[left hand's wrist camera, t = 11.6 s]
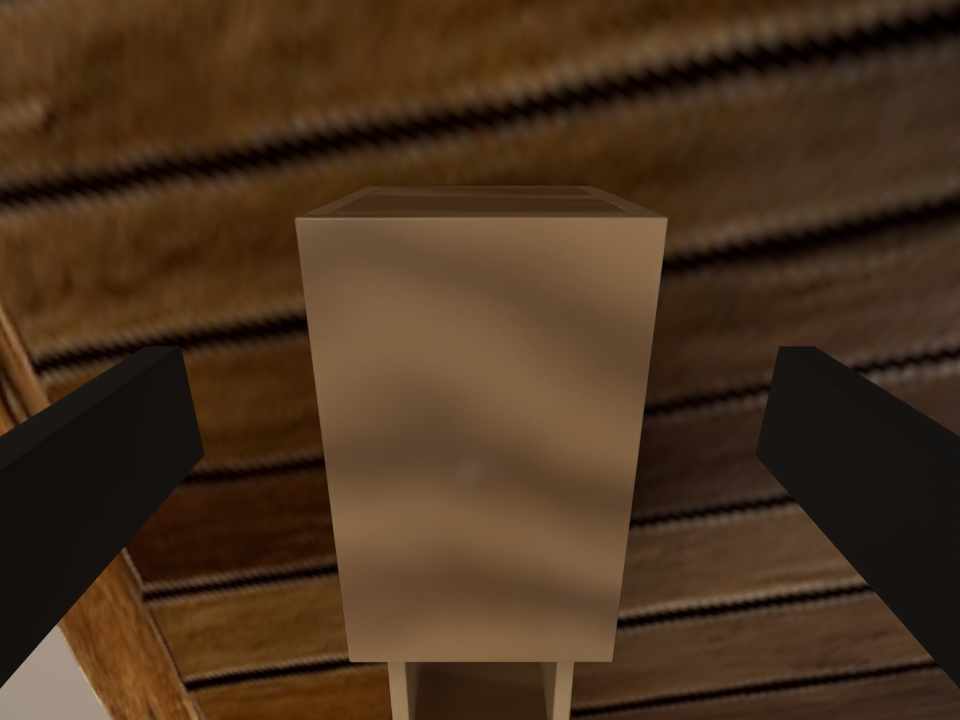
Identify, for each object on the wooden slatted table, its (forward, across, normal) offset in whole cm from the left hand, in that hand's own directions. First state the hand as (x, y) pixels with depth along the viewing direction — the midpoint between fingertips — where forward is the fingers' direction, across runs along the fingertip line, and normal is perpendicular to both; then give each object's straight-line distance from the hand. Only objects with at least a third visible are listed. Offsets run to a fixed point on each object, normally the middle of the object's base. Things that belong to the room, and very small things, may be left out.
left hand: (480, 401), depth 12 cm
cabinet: (+17, 0, -6) cm, 18 cm away
